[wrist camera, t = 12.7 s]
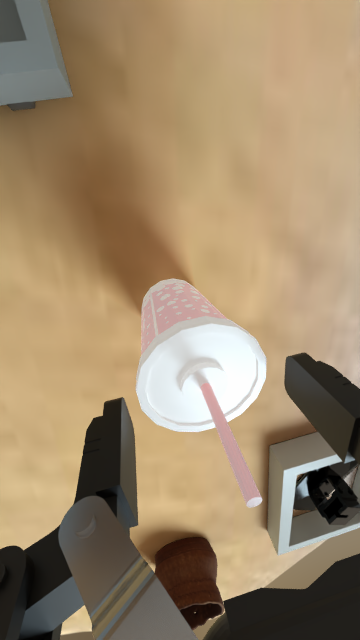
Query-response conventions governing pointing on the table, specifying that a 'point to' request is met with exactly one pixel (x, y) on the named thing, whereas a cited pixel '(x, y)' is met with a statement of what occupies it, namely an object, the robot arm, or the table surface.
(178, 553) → the ceramic pot
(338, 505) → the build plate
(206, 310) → the beverage cup
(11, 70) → the light blue tray
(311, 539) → the light grey tray
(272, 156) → the table surface
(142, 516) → the table surface
